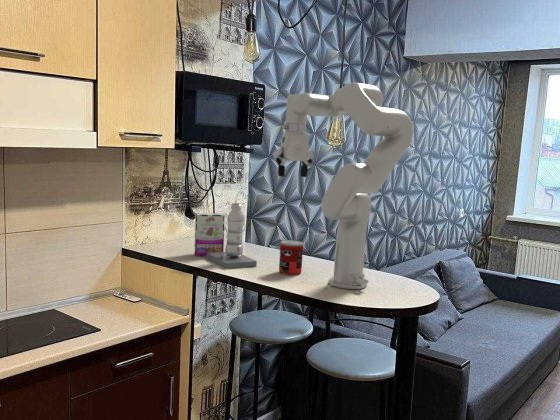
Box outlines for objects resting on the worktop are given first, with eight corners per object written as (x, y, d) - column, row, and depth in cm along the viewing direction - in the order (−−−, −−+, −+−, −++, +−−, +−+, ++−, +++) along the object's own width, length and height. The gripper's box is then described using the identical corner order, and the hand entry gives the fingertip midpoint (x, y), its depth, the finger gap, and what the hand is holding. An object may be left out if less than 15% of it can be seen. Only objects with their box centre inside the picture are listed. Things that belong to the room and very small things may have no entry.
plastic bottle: (221, 255, 204) (223, 203, 201) (236, 254, 208) (238, 202, 206) (231, 259, 199) (234, 205, 196) (246, 257, 203) (249, 204, 201)
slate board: (256, 266, 199) (256, 261, 199) (226, 268, 193) (226, 263, 192) (234, 256, 214) (234, 251, 214) (206, 258, 208) (206, 252, 208)
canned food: (275, 270, 194) (277, 240, 193) (296, 269, 197) (298, 240, 196) (283, 275, 187) (284, 244, 186) (304, 275, 190) (306, 244, 189)
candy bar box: (221, 253, 217) (223, 213, 215) (223, 256, 213) (225, 214, 210) (193, 253, 215) (195, 212, 213) (194, 256, 210) (196, 214, 208)
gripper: (280, 128, 189) (277, 177, 191) (320, 130, 198) (317, 177, 200) (269, 127, 196) (267, 175, 198) (309, 130, 205) (306, 176, 207)
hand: (292, 176), depth 199 cm, fingers open, 9 cm apart
